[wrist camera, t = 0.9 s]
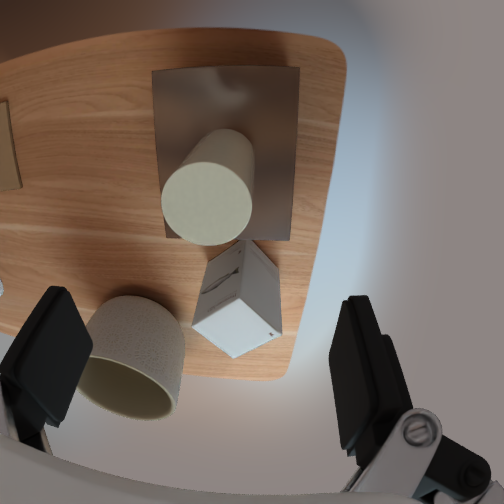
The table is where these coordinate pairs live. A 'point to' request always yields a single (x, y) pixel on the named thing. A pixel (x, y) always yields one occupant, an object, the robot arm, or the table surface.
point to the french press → (1, 288)
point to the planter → (134, 359)
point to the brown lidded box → (241, 120)
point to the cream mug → (211, 189)
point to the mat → (7, 153)
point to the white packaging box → (239, 300)
